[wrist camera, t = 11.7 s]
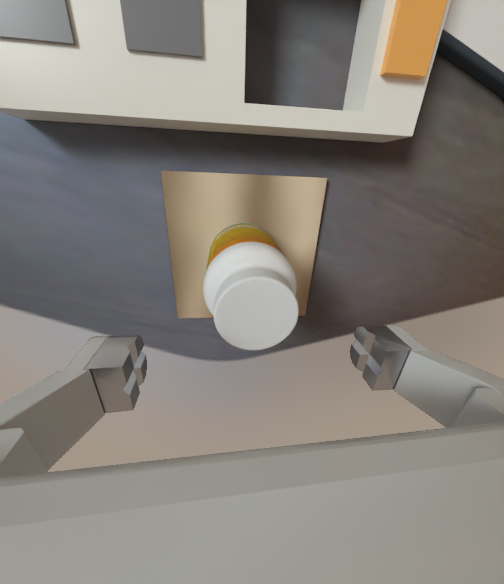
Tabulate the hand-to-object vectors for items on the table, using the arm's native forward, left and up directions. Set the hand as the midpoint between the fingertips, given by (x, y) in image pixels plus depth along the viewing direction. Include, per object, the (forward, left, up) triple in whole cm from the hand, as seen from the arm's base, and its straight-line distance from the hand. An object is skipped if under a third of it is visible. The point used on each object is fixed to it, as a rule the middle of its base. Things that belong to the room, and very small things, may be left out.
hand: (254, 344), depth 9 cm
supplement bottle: (0, 0, -12) cm, 12 cm away
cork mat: (+1, 0, -12) cm, 12 cm away
